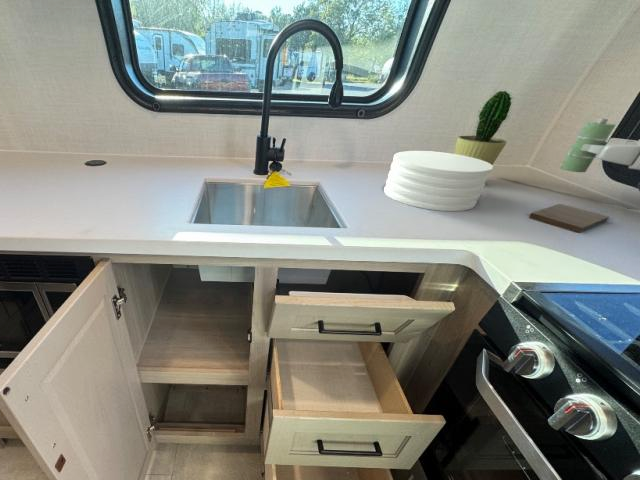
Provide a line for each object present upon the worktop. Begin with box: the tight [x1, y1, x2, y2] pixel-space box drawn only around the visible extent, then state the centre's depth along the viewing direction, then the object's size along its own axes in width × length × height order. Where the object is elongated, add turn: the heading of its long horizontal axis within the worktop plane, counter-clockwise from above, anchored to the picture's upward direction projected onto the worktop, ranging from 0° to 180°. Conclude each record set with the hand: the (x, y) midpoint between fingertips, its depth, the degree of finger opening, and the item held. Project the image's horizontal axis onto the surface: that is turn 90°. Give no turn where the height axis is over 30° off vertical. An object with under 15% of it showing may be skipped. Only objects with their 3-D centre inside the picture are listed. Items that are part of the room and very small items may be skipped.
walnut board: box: [528, 203, 610, 234], centre depth 91 cm, size 18×12×2 cm, turn 119°
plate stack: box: [383, 150, 494, 212], centre depth 103 cm, size 28×28×12 cm
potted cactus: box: [453, 90, 514, 166], centre depth 114 cm, size 15×15×30 cm
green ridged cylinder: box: [559, 118, 616, 173], centre depth 96 cm, size 7×7×14 cm
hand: (583, 145), depth 97 cm, fingers closed on green ridged cylinder, 6 cm apart
